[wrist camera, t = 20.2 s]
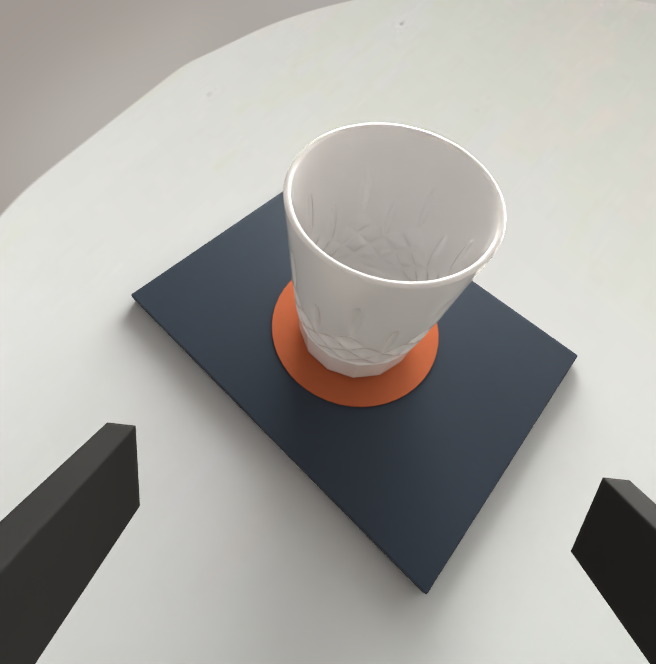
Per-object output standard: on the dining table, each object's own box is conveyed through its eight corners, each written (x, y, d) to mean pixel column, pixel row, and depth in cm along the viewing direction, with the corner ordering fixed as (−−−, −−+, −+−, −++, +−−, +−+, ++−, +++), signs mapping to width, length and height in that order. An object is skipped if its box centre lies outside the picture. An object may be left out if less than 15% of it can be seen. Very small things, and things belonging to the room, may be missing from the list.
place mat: (134, 299, 22) (129, 293, 22) (314, 175, 28) (315, 168, 27) (422, 592, 16) (427, 595, 16) (571, 359, 22) (579, 354, 22)
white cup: (273, 289, 22) (256, 140, 13) (388, 258, 24) (440, 108, 15) (316, 408, 19) (331, 317, 10) (444, 363, 21) (553, 252, 12)
